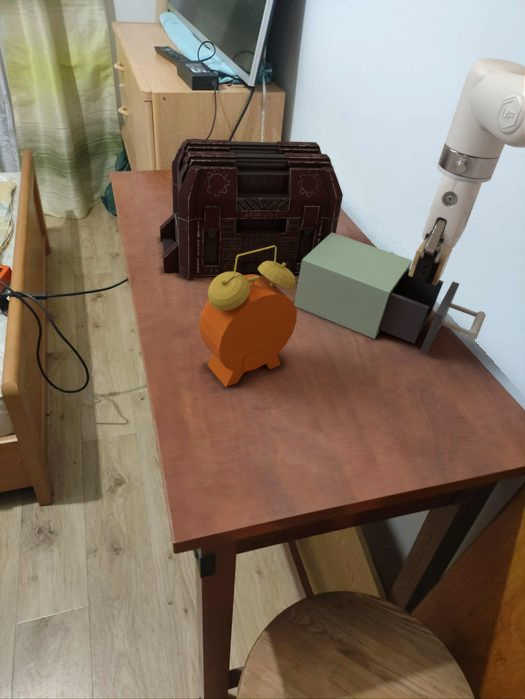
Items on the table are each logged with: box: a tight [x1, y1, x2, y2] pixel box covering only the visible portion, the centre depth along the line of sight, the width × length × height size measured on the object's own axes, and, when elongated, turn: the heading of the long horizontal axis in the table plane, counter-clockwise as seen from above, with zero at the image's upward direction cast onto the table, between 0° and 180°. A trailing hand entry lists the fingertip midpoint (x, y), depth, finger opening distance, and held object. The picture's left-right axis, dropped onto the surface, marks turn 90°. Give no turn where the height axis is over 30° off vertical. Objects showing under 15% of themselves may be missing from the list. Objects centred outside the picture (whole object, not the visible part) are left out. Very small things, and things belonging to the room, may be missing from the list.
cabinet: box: [294, 232, 413, 339], centre depth 90 cm, size 16×13×10 cm
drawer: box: [379, 268, 487, 354], centre depth 87 cm, size 20×11×8 cm, turn 60°
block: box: [408, 239, 453, 285], centre depth 81 cm, size 5×5×5 cm
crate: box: [159, 138, 344, 280], centre depth 97 cm, size 35×19×21 cm, turn 101°
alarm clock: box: [198, 246, 298, 388], centre depth 72 cm, size 13×6×20 cm, turn 125°
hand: (426, 272), depth 82 cm, fingers closed on block, 4 cm apart
